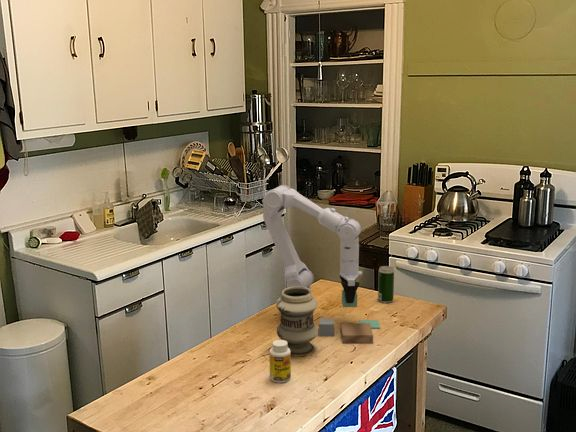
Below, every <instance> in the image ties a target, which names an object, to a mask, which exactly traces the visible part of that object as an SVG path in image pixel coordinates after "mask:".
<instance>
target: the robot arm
mask: <svg viewBox="0 0 576 432" xmlns="http://www.w3.org/2000/svg"><path fill="white" fill-rule="evenodd" d="M261 202H262V204H263V213H262V218H263V221H264V223H265V226H266V228H267V230H268V232H269V234H270V236H271V239H272V241H273V243H274V245H275V248H276V250H277V252H278V254H279V257H280V259H281V261H282V264H283V266H284V269H285V270H284V279H285V282H286V284H285V285H286V288H289V287H294V286H301V287H306V288H309V289H310V290H311V291H312V288H311V286H312V285H313V283H314V281H315V278H314V273H312V271H311V270H309V268H308V266H307V265H306V264H305V263H304V262H303V261H301V258H300V257H299V254H298V253H297V250H296V249H295V246H294V244H293V241H292V239H291V237H290V234H289V232H288V230H287V228H286V225H285V223H284V221H283V219H282V215H283V213H284V212H285V208H287V209H288V208H297V209H299V210H301V211H303V212H305V213H307V214H309V215H310V216H312V217H315V218H316V219H317V221H318V223H319V225H322V226H323V227H324V228H326V229H328V230H330V231H331V232H333V233H334V234H337V235H338V238H339V239H340V248H339V249H340V253H339V254H340V257H339V258H340V259H339V263H340V265H339V278H340V285H341V287H342V288H343V289H342V290H344V292H345V298H346V303H353V302H354V298H355V294H356V292H357V290H358V288H359V287H360V283H361V282H360V281H357V278H358V277H359V276H363V271H361V270H359V268H360V266H359V264H360V263H359V262H360V260H359V259H360V257H359V256H360V242H359V239H360V237H359V235H360V234H361V231H362V225H361V224H360V222H359V221H357V220H356V219H354V218H349V217H348V216H347V215H346V216H344V215H342V214H340V213H339V212H338V211H337V212H336V208H334V207H331V208H330V207H326V208H323V207H320V206H319V205H317V204H316V203H315V202H313V201H312V200H310V199H309V198H307V197H306V196H303V195H302V194H300V192H298V191H297V190H296V189H294V188H291V187H290V186H288V185H286V184H281V185H278V186H277V187H275V188H273V189H269V190H267V192H266V193H265V194H264V196H263V198H262V200H261Z"/></svg>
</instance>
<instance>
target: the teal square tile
mask: <svg viewBox="0 0 576 432" xmlns="http://www.w3.org/2000/svg"><path fill="white" fill-rule="evenodd" d="M358 321H359V322H358V323H370V326H371V329H373V330H375V329H376V330H380V329H381V326H380V322H379V320H378V319H358Z"/></svg>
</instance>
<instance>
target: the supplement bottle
mask: <svg viewBox="0 0 576 432" xmlns="http://www.w3.org/2000/svg"><path fill="white" fill-rule="evenodd" d="M291 359H292V355H291V351H290V349H289V348H288V343H287V341H285V340H281V339H276V340H274V341H273V342H272V346H271V348H270V350H269V378H270V380H272V382H274V383H285V382H286V383H287V382H288V381H290V379H291V375H292V373H291V371H292V369H291V368H292V366H291Z"/></svg>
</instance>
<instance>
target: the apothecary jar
mask: <svg viewBox="0 0 576 432" xmlns="http://www.w3.org/2000/svg"><path fill="white" fill-rule="evenodd" d="M275 305H276V308H277V310H278V311H279V313H280V323H279V324H278V325H277V327H276V334H277V337H278V338H279V340H285V341H287V343H288V348H289V349H290V351H291V356H292V357H304V356H307V355H310V354H312V353H313V352H314V350H315V346H314V345H313V343H311V341H313V340H315V338H316V337H317V336H318V335H319V327H318V326H317V325H316V323H315V321H314V312H315V311H316V309H317V308H318V301H317V299H316V298H315V297H314V296H313V295H312V289H311V290H310V289H309V288H306V287H301V286H294V287H289V288H287V287H285V288H283V289H282V291H281V296H280V297H278V299H277V300H276V303H275Z"/></svg>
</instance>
